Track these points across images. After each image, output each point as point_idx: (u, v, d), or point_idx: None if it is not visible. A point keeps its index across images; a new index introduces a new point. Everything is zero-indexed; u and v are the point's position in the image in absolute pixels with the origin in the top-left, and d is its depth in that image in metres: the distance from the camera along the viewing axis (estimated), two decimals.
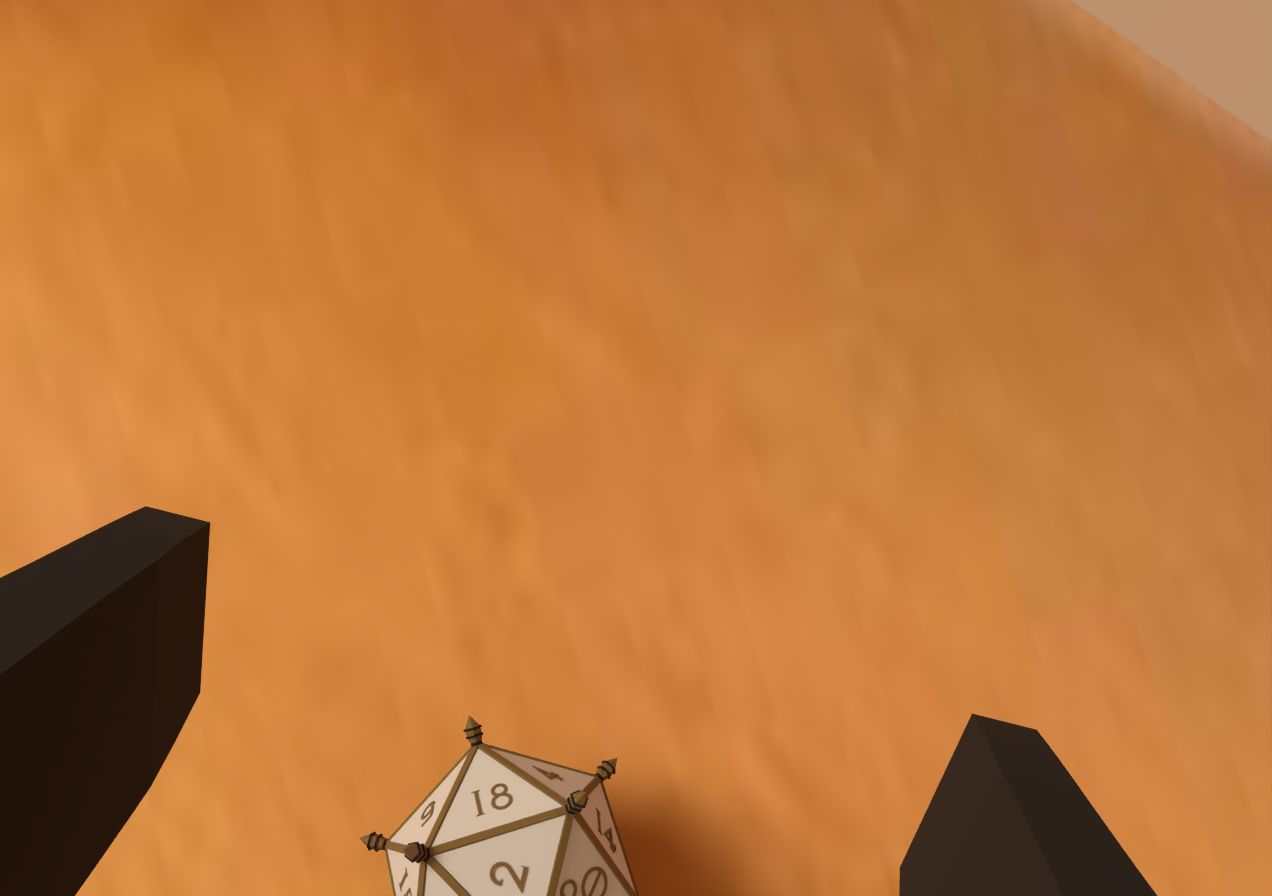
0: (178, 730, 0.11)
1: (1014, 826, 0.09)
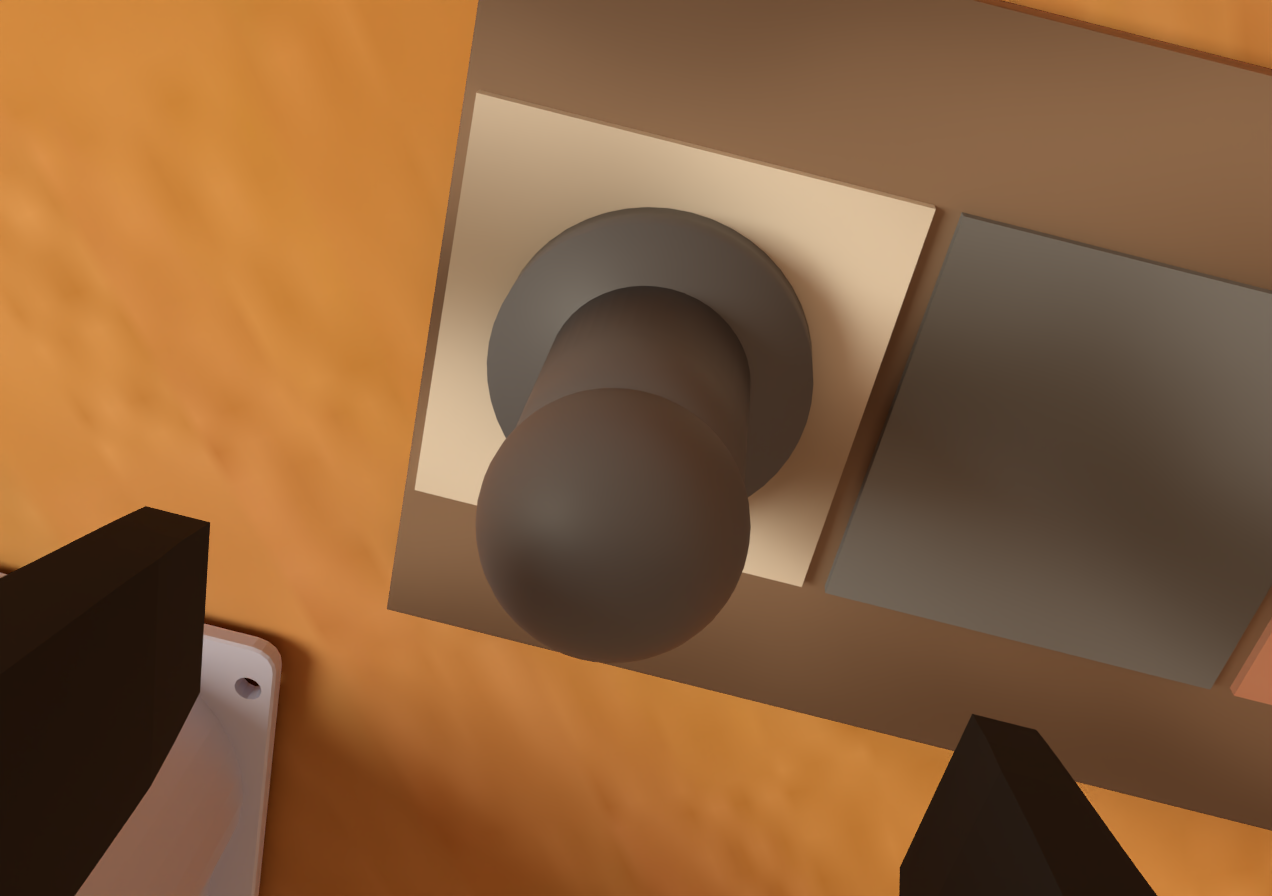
0: (178, 730, 0.11)
1: (1013, 825, 0.09)
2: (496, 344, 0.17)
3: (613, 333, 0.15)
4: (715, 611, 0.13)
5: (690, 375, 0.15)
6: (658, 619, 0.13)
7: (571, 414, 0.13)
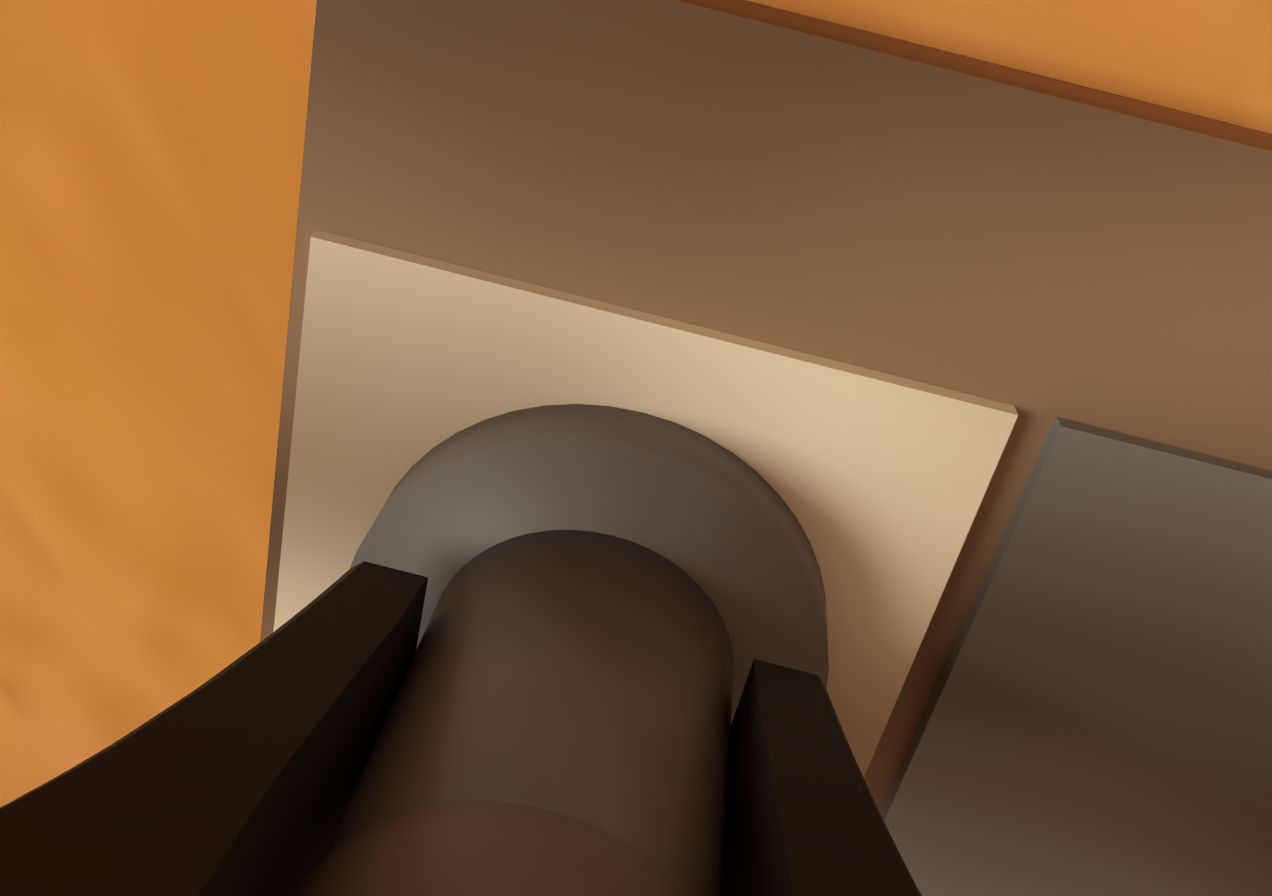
0: None
1: (761, 761, 0.09)
2: None
3: (508, 644, 0.10)
4: None
5: (627, 740, 0.09)
6: None
7: (400, 885, 0.07)
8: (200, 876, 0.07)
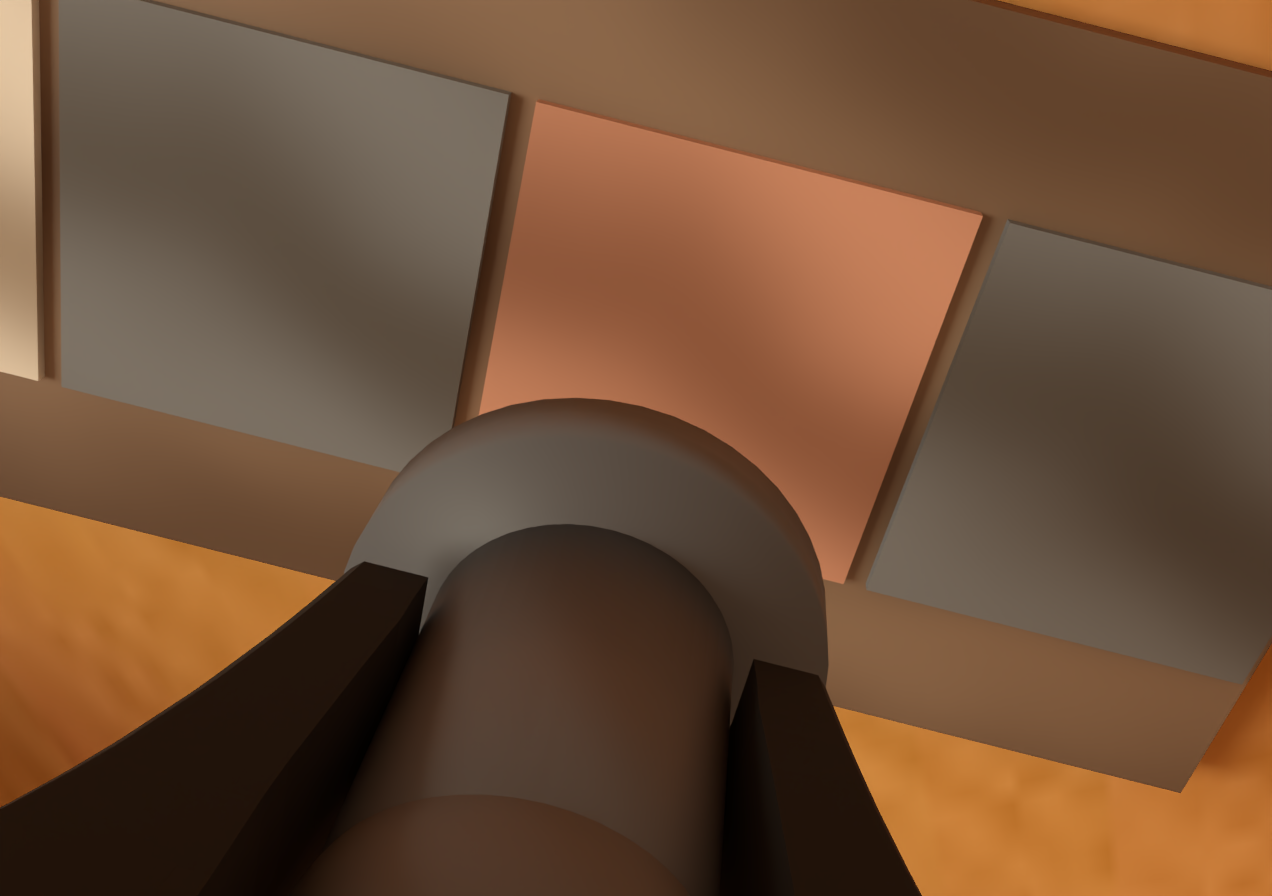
0: None
1: (761, 761, 0.09)
2: None
3: (507, 639, 0.09)
4: None
5: (627, 732, 0.09)
6: None
7: (399, 879, 0.07)
8: (200, 876, 0.07)
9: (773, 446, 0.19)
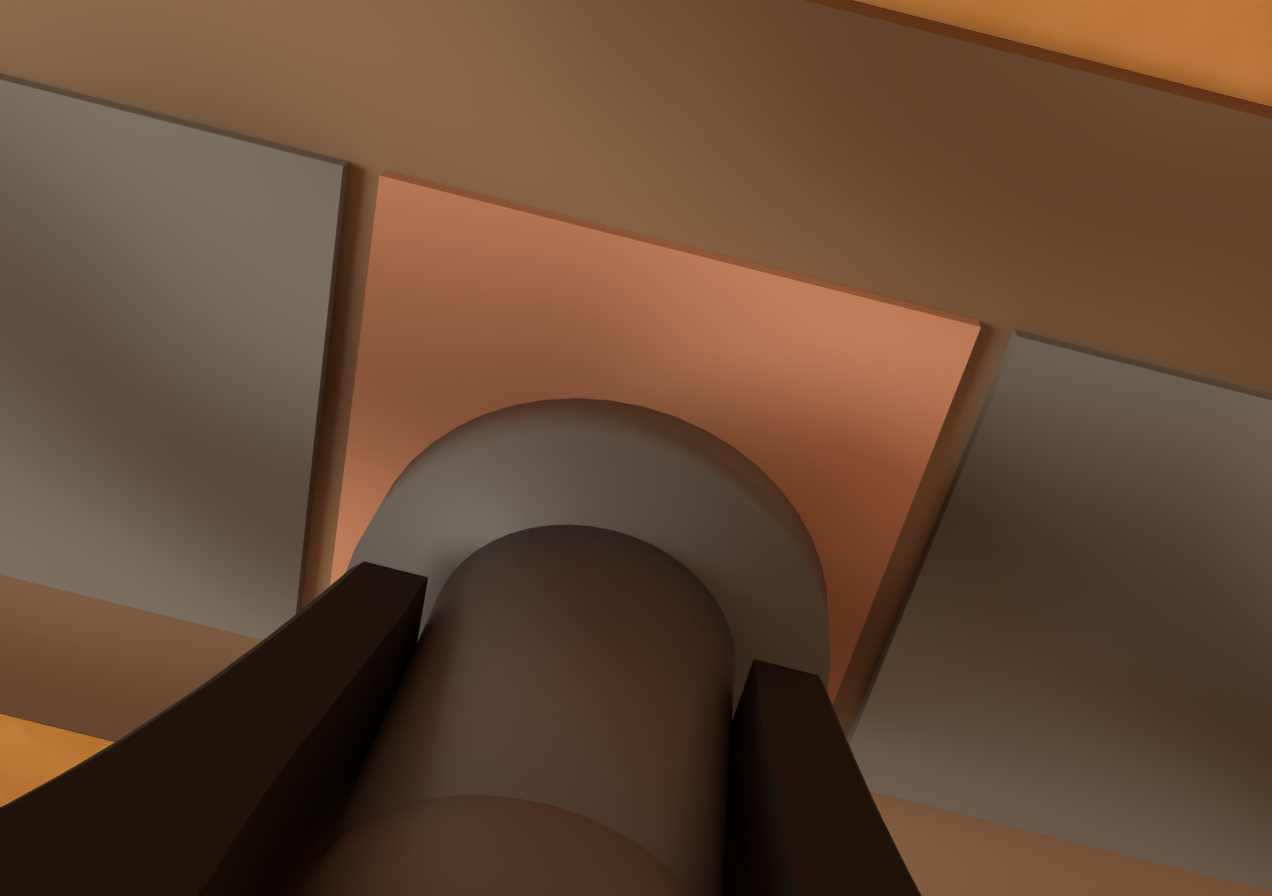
0: None
1: (761, 761, 0.09)
2: None
3: (509, 639, 0.09)
4: None
5: (630, 734, 0.09)
6: None
7: (401, 880, 0.07)
8: (199, 875, 0.07)
9: None
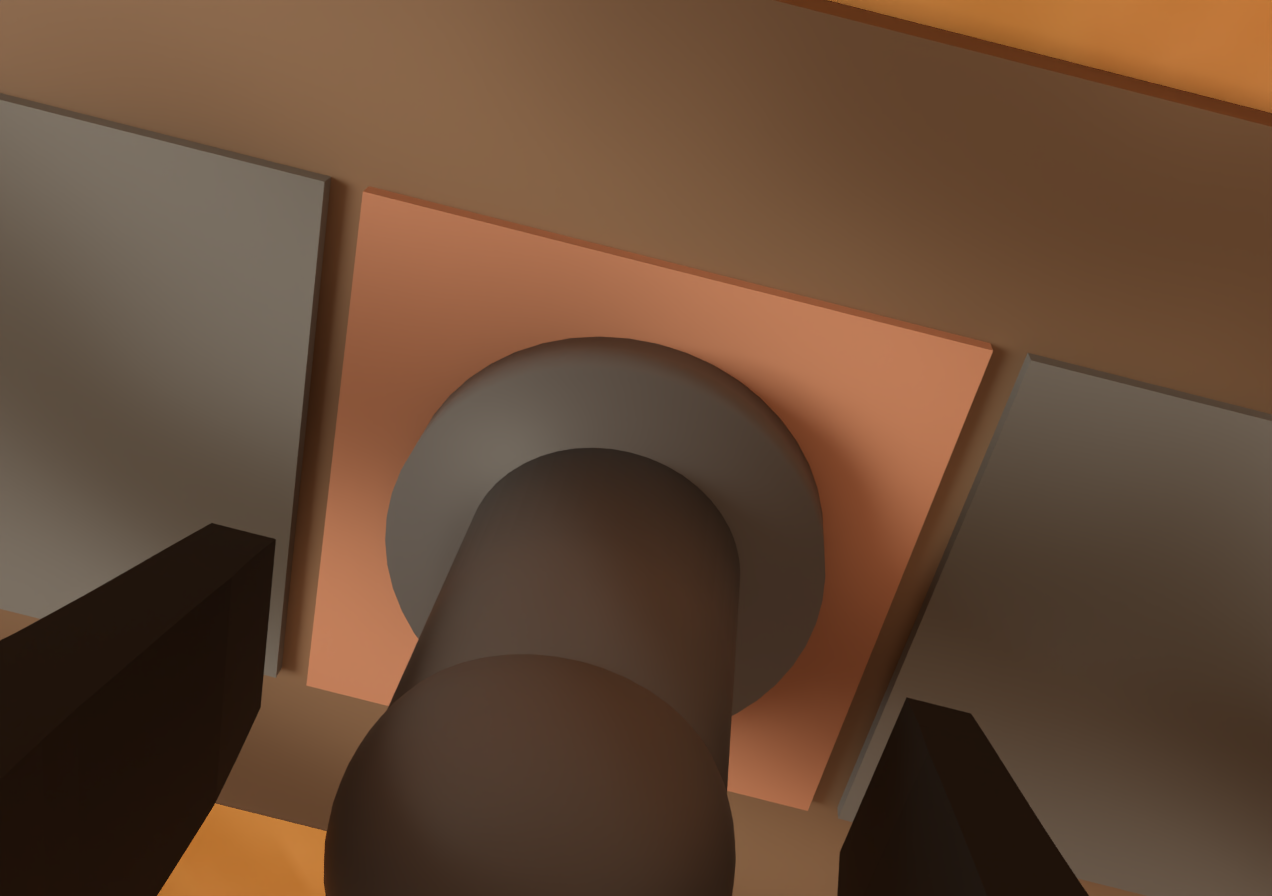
0: (241, 745, 0.11)
1: (938, 806, 0.09)
2: (397, 518, 0.13)
3: (543, 538, 0.11)
4: None
5: (650, 612, 0.10)
6: None
7: (460, 715, 0.09)
8: None
9: None
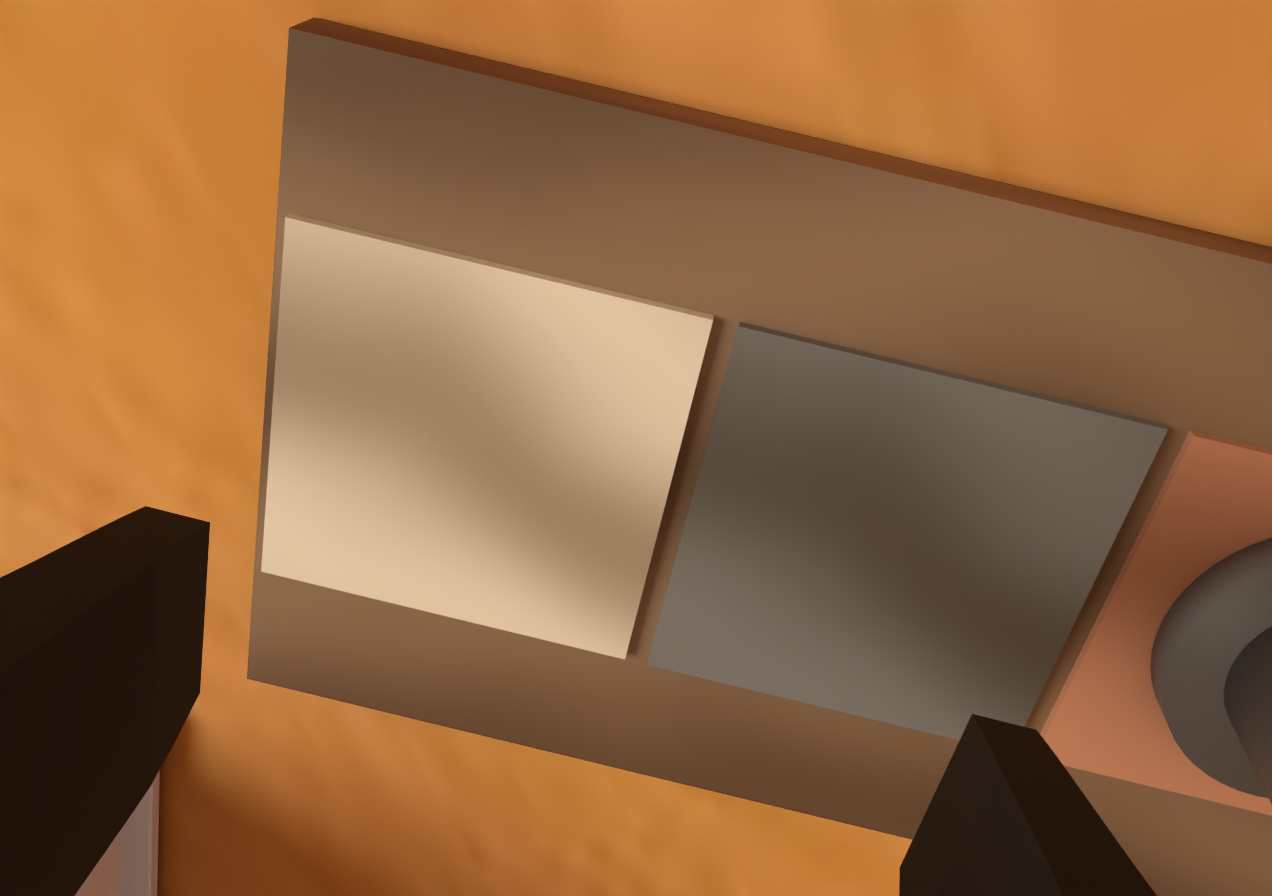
0: (178, 730, 0.11)
1: (1013, 824, 0.09)
2: (1183, 650, 0.19)
3: None
4: None
5: None
6: None
7: None
8: None
9: None
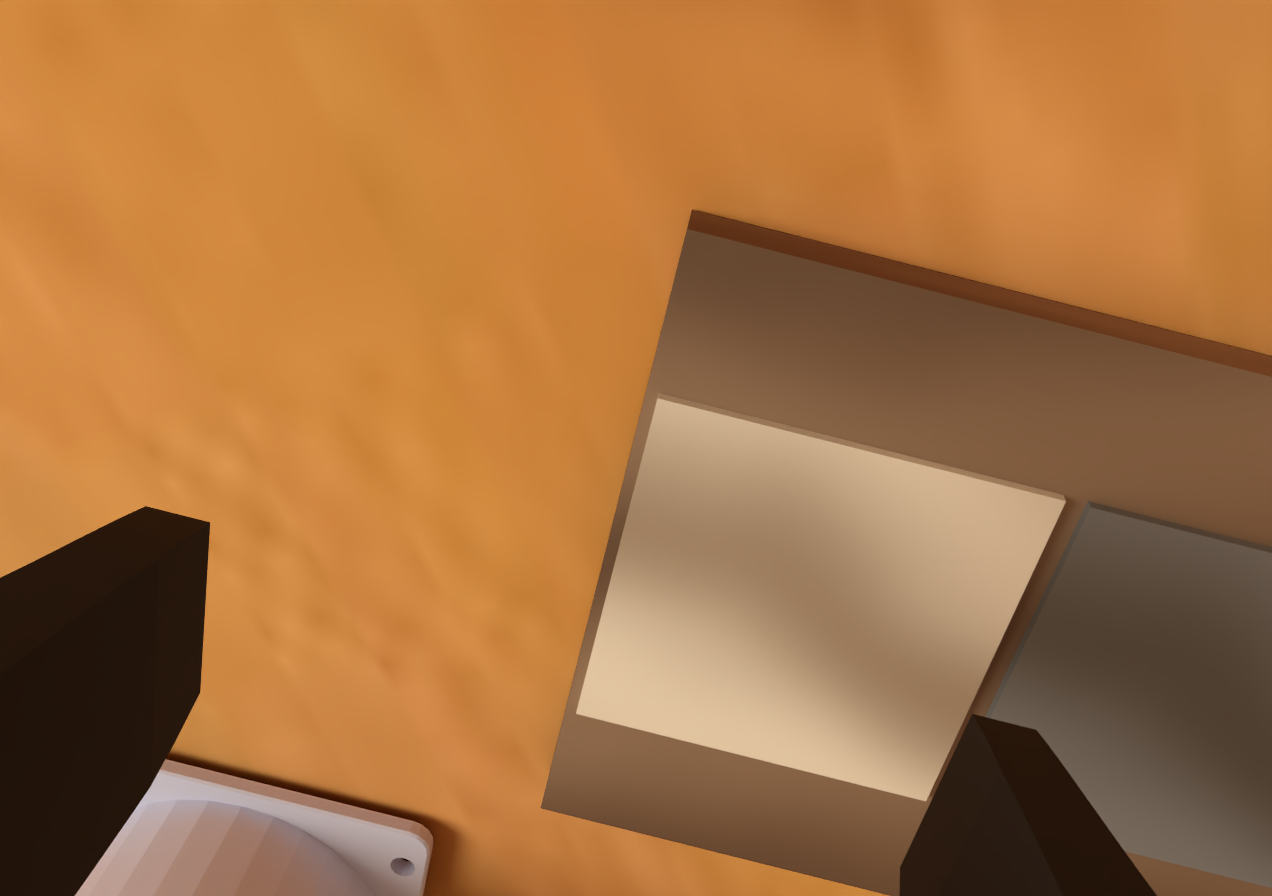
0: (178, 730, 0.11)
1: (1013, 825, 0.09)
2: None
3: None
4: None
5: None
6: None
7: None
8: None
9: None
